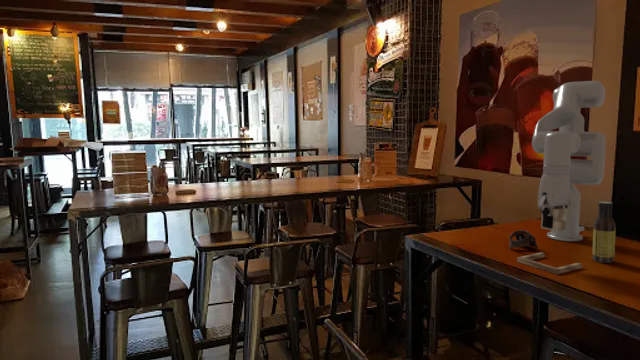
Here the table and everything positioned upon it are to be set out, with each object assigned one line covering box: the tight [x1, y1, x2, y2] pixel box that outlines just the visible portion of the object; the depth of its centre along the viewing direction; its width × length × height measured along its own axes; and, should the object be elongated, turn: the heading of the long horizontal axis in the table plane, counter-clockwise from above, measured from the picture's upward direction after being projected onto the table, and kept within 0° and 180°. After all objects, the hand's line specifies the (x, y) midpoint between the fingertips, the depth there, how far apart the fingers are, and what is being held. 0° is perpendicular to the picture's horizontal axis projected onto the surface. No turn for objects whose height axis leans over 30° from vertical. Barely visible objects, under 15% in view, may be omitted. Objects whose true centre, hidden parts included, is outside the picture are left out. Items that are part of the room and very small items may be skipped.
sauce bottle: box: [591, 201, 617, 264], centre depth 147 cm, size 6×6×20 cm
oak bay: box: [516, 251, 583, 275], centre depth 144 cm, size 12×14×2 cm
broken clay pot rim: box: [508, 229, 539, 251], centre depth 164 cm, size 12×10×8 cm
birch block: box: [540, 207, 567, 232], centre depth 143 cm, size 5×5×7 cm
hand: (553, 226), depth 143 cm, fingers closed on birch block, 5 cm apart
